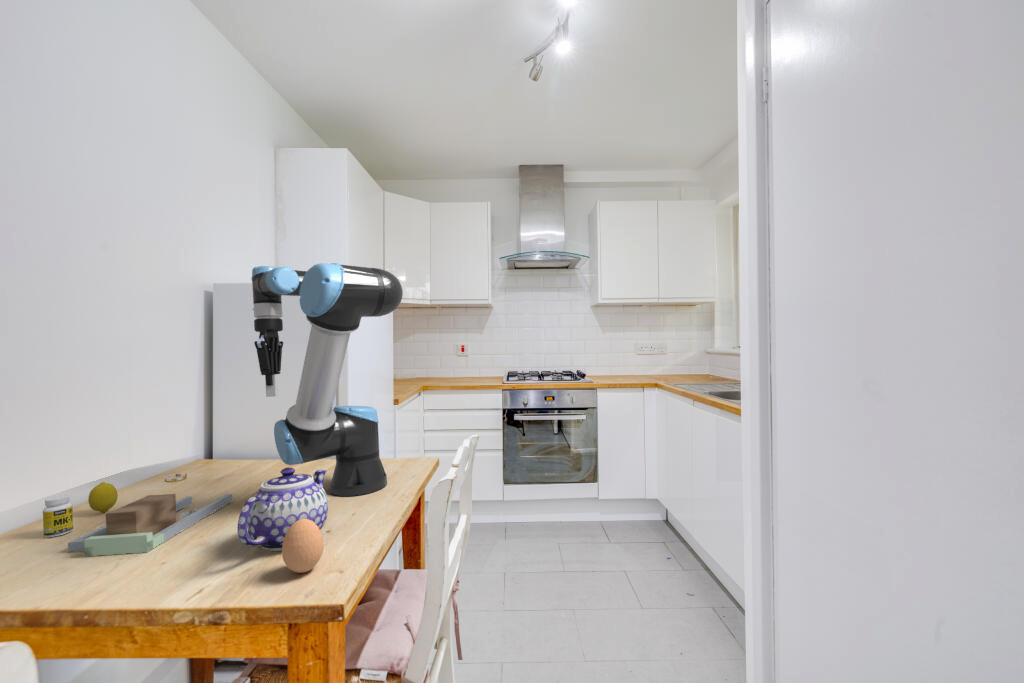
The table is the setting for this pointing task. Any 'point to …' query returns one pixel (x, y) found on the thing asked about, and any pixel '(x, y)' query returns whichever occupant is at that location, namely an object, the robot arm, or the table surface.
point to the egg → (302, 546)
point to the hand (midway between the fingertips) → (272, 396)
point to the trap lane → (141, 542)
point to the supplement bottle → (57, 516)
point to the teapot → (282, 508)
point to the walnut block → (143, 515)
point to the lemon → (103, 497)
